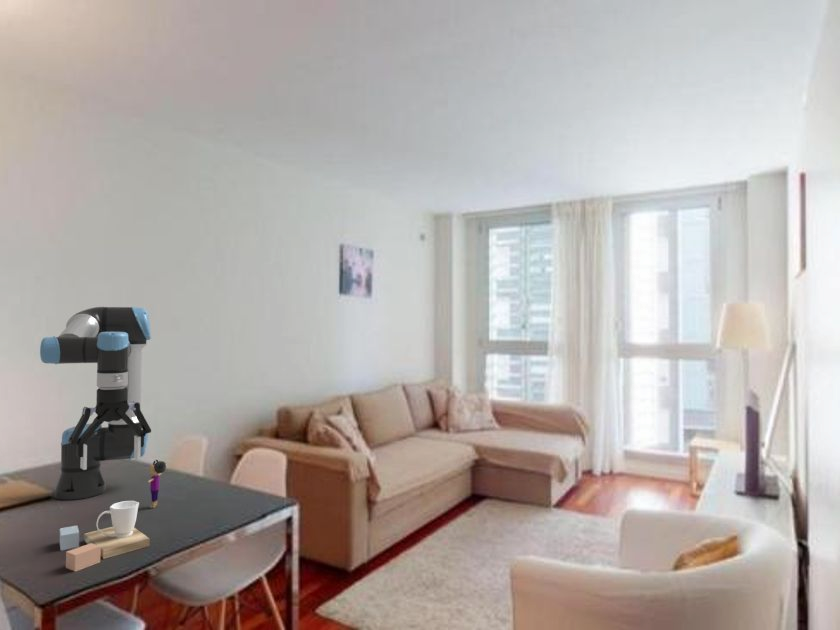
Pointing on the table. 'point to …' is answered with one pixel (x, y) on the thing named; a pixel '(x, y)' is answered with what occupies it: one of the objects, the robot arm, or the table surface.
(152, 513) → the table surface
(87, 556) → the terracotta brick
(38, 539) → the table surface
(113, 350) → the robot arm
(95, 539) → the oak board
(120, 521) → the cup
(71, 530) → the slate brick
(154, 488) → the toy
